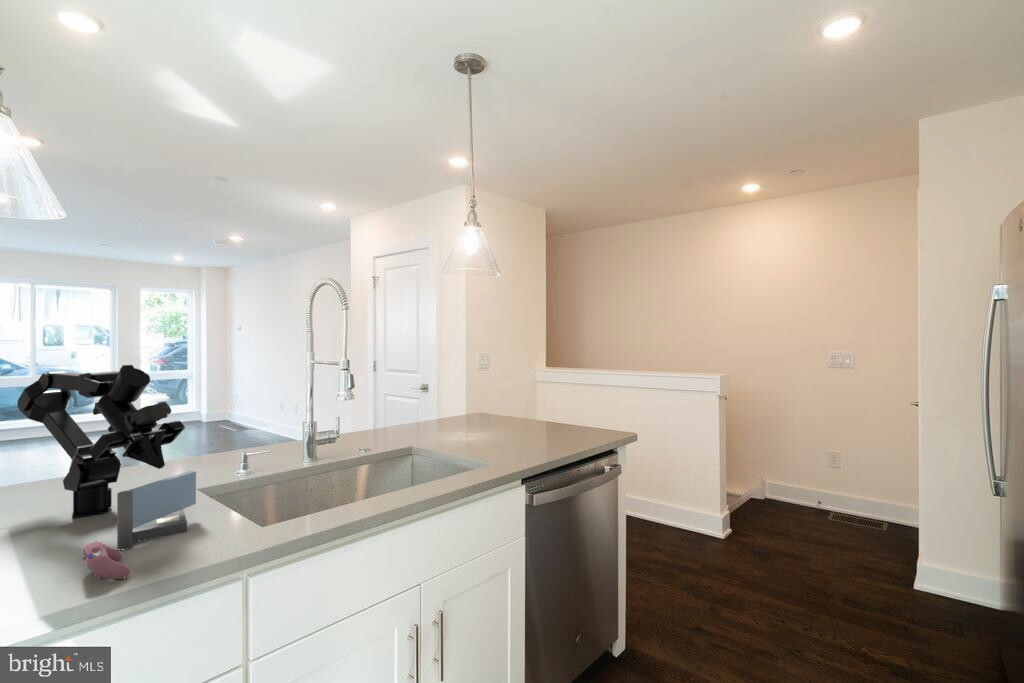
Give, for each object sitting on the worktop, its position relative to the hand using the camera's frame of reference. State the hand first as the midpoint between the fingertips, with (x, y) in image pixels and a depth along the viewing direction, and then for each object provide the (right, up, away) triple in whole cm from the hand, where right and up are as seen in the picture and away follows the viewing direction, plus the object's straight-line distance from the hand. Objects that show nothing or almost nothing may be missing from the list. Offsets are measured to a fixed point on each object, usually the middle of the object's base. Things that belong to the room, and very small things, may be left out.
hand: (162, 467), depth 112 cm
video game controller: (+7, -13, -24) cm, 28 cm away
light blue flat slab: (+3, -13, -6) cm, 14 cm away
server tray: (-1, -12, -1) cm, 13 cm away
